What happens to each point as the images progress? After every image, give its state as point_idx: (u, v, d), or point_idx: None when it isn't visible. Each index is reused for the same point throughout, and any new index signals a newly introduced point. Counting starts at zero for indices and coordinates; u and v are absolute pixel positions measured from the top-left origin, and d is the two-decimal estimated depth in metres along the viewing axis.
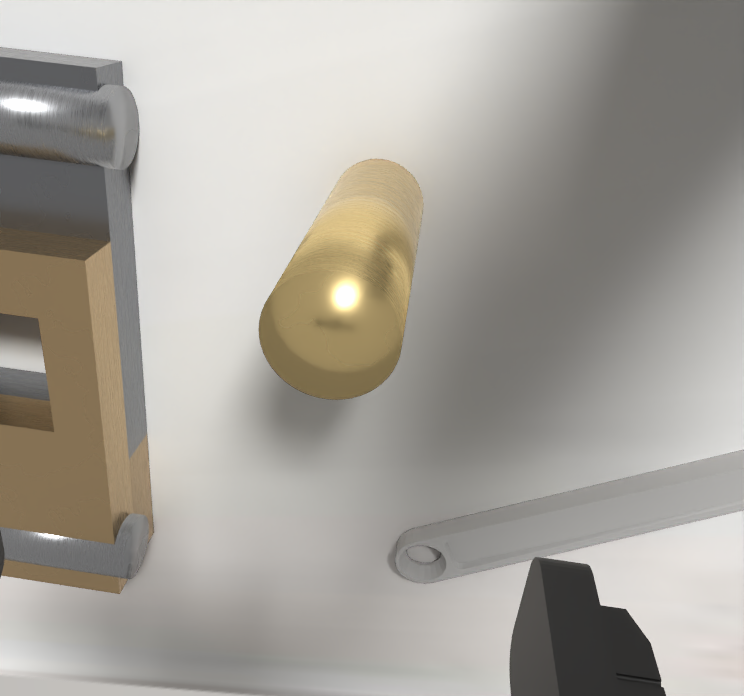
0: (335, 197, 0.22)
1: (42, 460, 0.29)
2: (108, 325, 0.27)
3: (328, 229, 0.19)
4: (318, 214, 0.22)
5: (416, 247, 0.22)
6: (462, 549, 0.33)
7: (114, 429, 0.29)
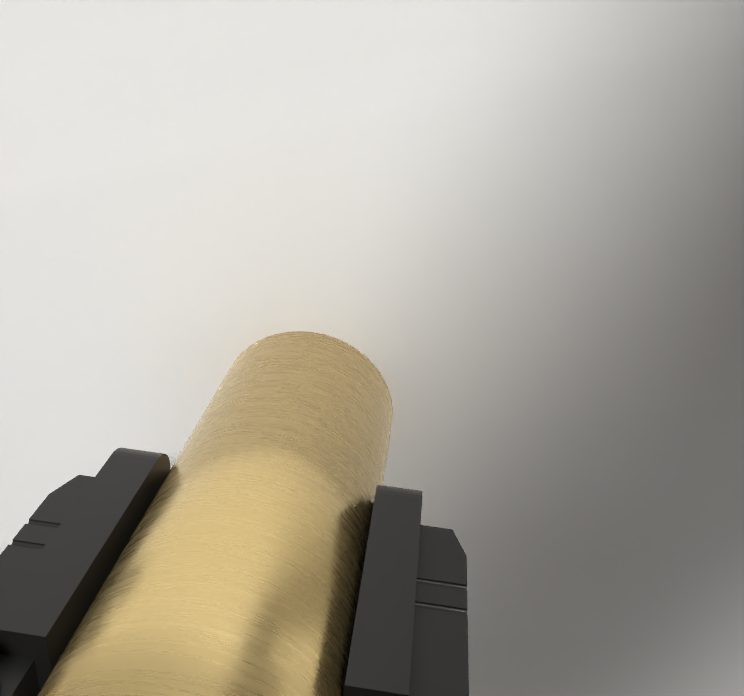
0: (180, 482, 0.10)
1: None
2: None
3: None
4: (139, 524, 0.10)
5: None
6: None
7: None
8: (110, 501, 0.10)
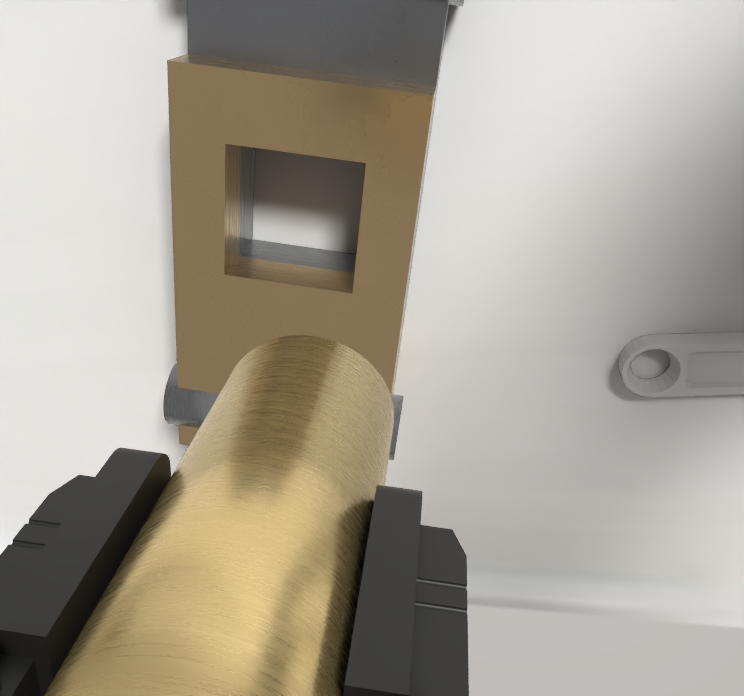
0: (182, 486, 0.10)
1: (330, 326, 0.28)
2: (422, 178, 0.26)
3: None
4: (142, 528, 0.10)
5: None
6: (700, 367, 0.30)
7: (405, 295, 0.28)
8: (110, 501, 0.10)
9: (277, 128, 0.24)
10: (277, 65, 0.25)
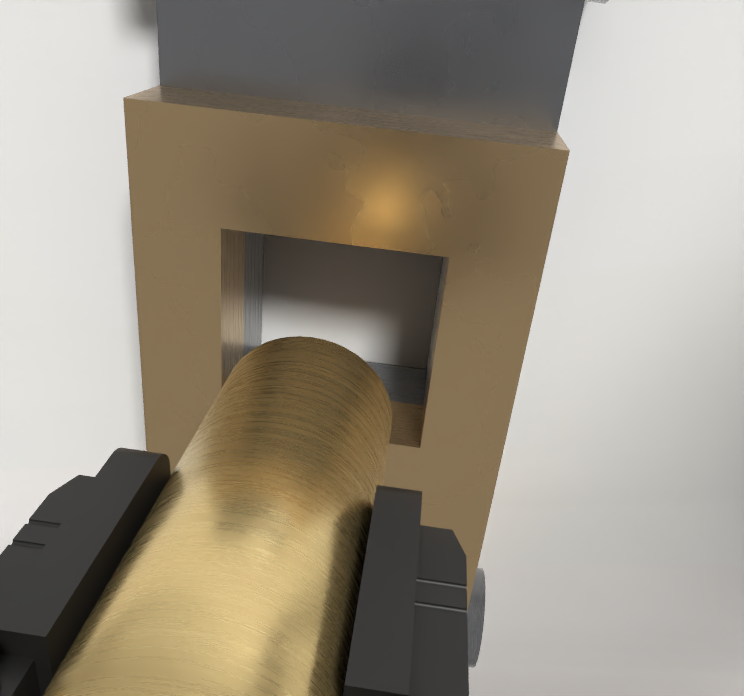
0: (180, 488, 0.10)
1: None
2: None
3: None
4: (139, 530, 0.10)
5: None
6: None
7: None
8: (110, 501, 0.10)
9: (305, 204, 0.15)
10: (302, 101, 0.16)
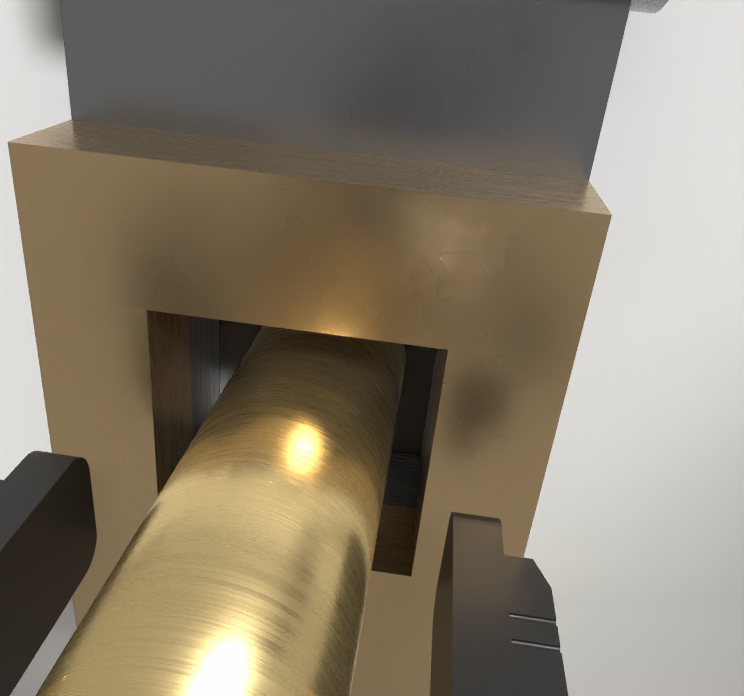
0: (234, 393, 0.12)
1: (368, 626, 0.14)
2: None
3: (176, 533, 0.09)
4: (201, 426, 0.12)
5: (384, 484, 0.12)
6: None
7: None
8: (14, 506, 0.09)
9: (257, 281, 0.11)
10: (255, 141, 0.12)
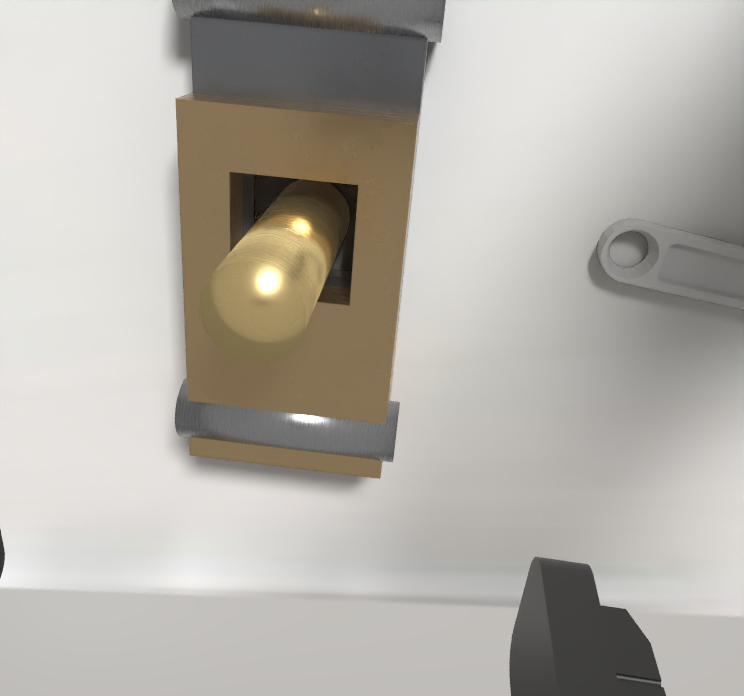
0: (269, 209, 0.27)
1: (330, 337, 0.30)
2: (410, 197, 0.28)
3: (255, 232, 0.24)
4: None
5: (334, 247, 0.27)
6: (674, 263, 0.31)
7: None
8: None
9: (277, 156, 0.27)
10: (274, 100, 0.28)
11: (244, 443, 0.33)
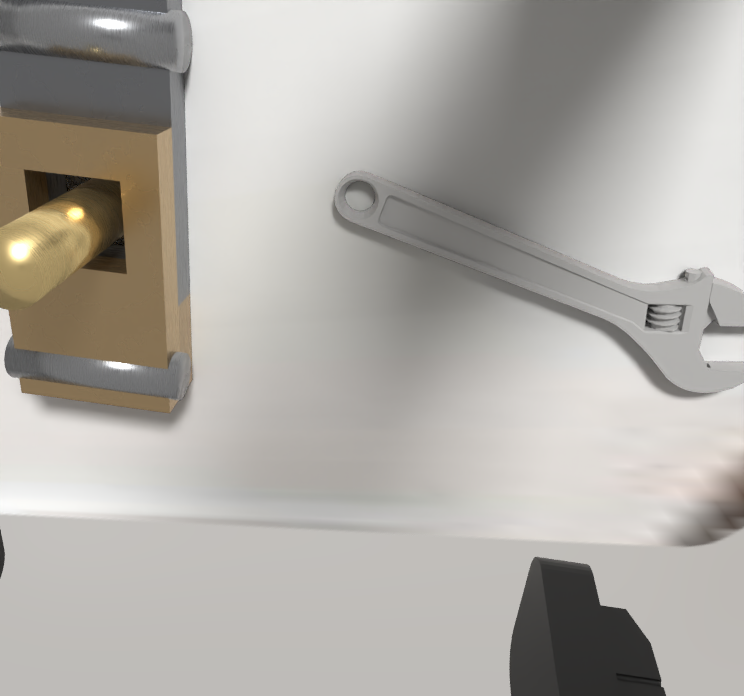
0: None
1: (116, 299, 0.38)
2: (169, 191, 0.37)
3: (22, 216, 0.32)
4: None
5: (105, 228, 0.36)
6: (392, 211, 0.38)
7: (170, 275, 0.38)
8: None
9: (57, 158, 0.35)
10: (62, 114, 0.36)
11: (61, 383, 0.41)
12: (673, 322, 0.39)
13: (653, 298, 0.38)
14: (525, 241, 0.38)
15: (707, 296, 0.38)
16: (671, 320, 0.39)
